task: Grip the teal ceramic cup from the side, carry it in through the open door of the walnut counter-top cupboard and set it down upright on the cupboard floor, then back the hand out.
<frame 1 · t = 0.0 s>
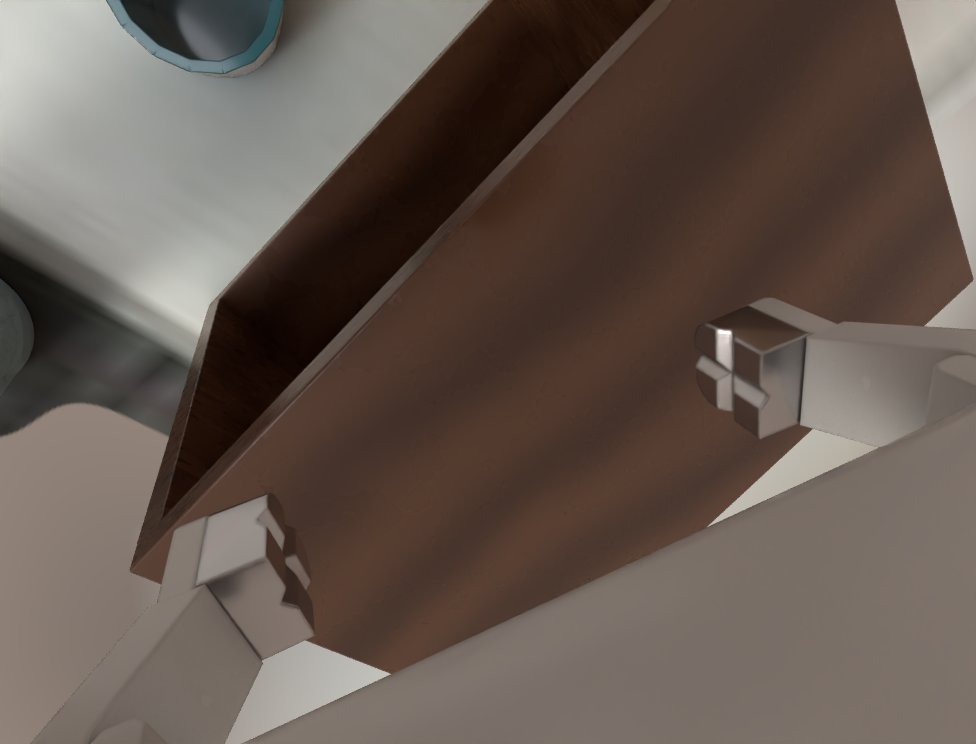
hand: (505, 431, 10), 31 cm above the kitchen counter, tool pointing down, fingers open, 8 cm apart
cup: (214, 7, 31), on the kitchen counter
cupboard: (447, 243, 41), on the kitchen counter
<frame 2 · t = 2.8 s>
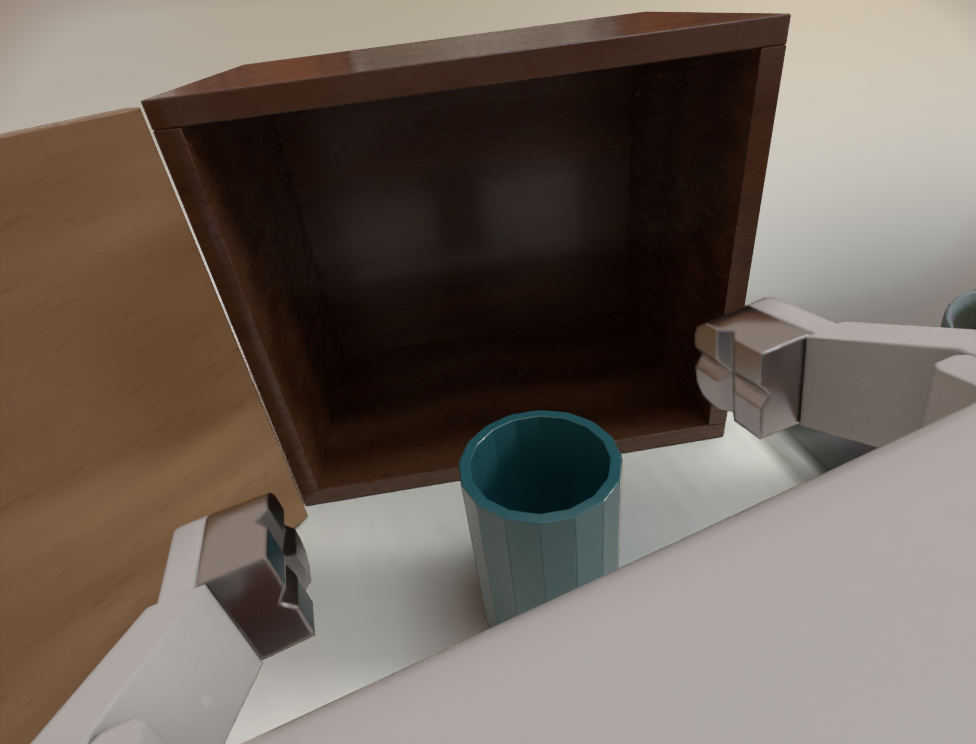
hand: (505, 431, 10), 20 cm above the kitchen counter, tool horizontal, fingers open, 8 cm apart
cup: (550, 602, 29), on the kitchen counter
cupboard: (499, 393, 45), on the kitchen counter
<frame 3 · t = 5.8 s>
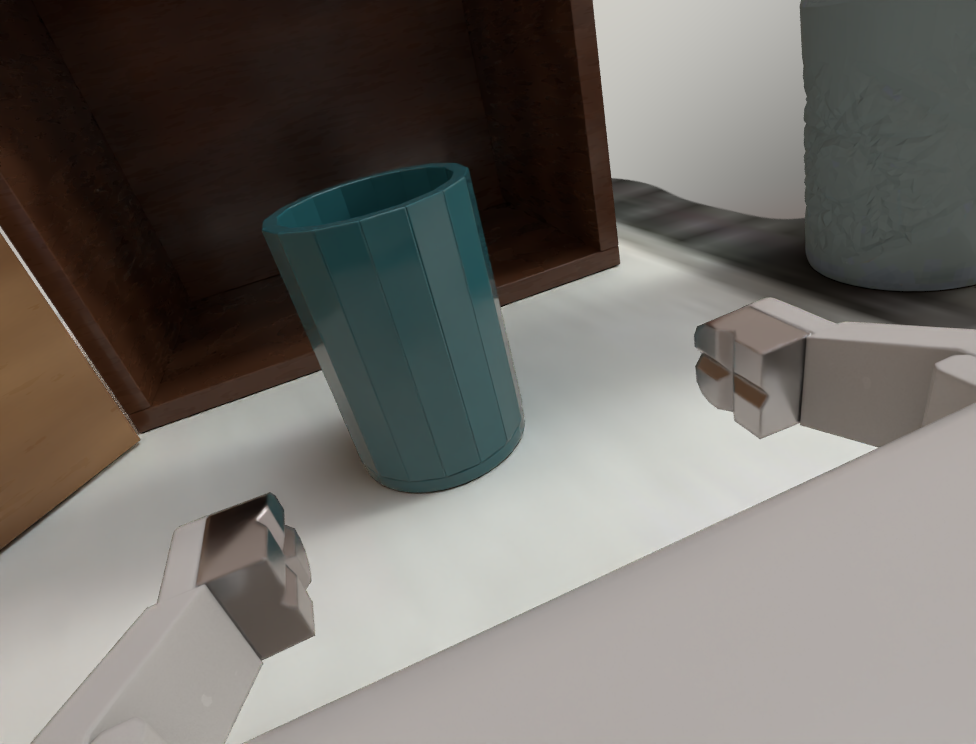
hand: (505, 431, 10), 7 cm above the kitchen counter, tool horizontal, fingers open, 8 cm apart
cup: (444, 434, 23), on the kitchen counter
grey mug: (903, 259, 28), on the kitchen counter
cupboard: (375, 293, 39), on the kitchen counter
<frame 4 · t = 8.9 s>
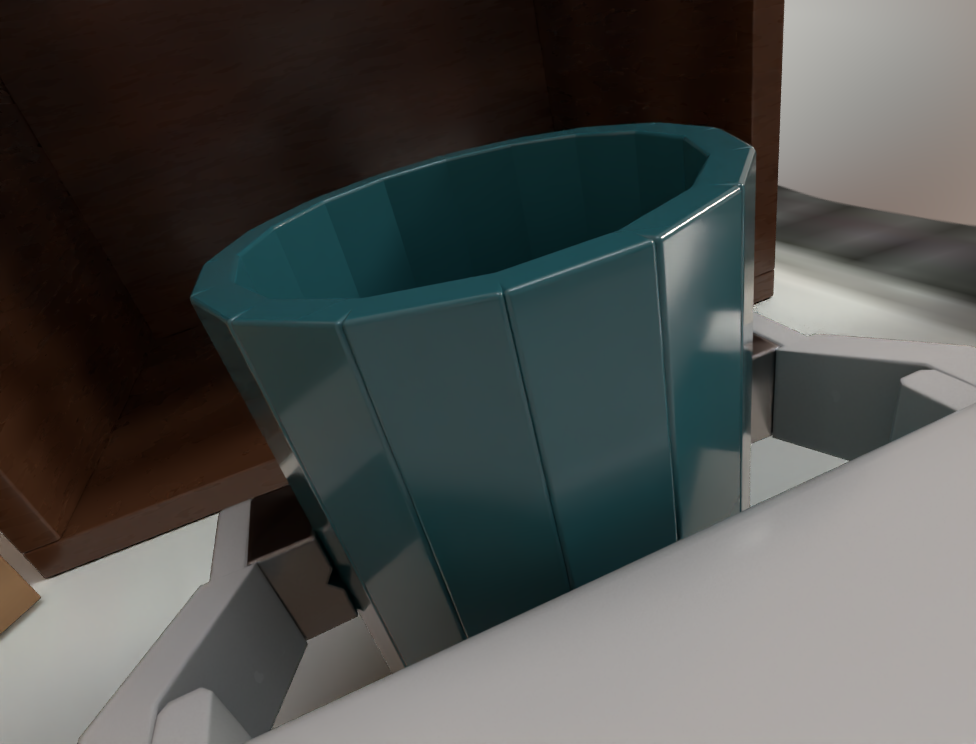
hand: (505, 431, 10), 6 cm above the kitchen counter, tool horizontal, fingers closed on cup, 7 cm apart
cup: (573, 650, 12), on the kitchen counter, touching gripper
cupboard: (404, 332, 28), on the kitchen counter
when the fingers open (7 cm above the kitchen counter, at t = 15.2 s): cup stays where it is, resting on cupboard.
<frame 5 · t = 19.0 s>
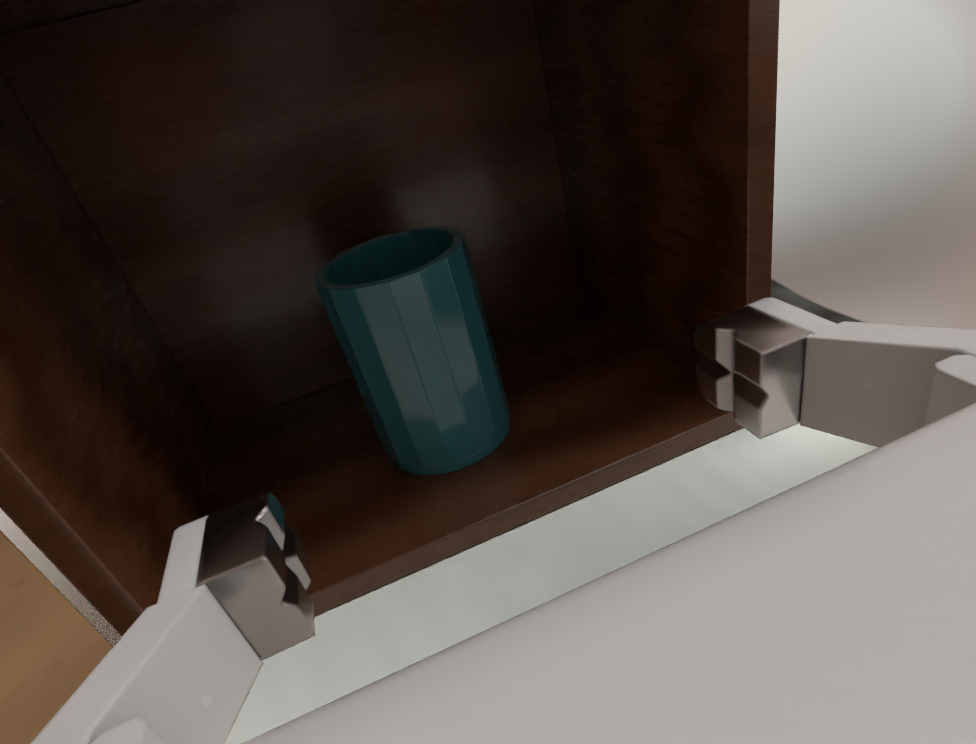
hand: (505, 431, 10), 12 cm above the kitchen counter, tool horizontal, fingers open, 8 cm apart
cup: (448, 430, 30), point 1 cm above the kitchen counter, touching cupboard
cupboard: (442, 430, 32), on the kitchen counter
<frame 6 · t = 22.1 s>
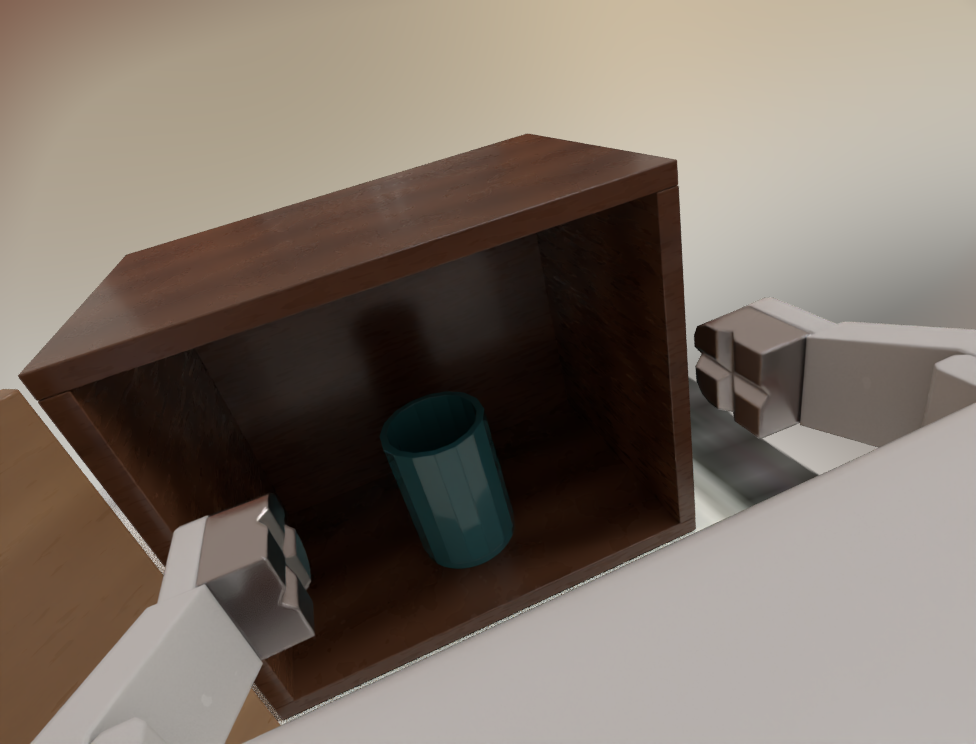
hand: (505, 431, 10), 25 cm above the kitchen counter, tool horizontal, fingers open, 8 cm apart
cup: (468, 530, 41), point 1 cm above the kitchen counter, touching cupboard
cupboard: (463, 525, 43), on the kitchen counter
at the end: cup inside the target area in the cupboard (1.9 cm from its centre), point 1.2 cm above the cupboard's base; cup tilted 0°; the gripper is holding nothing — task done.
